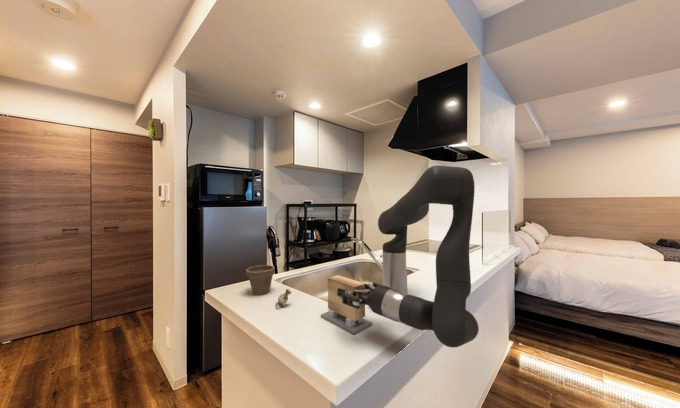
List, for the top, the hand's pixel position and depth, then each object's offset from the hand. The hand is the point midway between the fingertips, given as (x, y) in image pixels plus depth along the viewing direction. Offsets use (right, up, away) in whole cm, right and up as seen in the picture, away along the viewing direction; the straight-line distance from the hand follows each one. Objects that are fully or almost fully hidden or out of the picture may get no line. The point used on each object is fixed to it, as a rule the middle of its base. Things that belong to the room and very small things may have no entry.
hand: (348, 288), depth 78 cm
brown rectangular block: (-1, -8, +1) cm, 8 cm away
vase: (-23, -11, +13) cm, 29 cm away
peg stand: (-1, -11, +1) cm, 11 cm away
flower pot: (-36, -11, +27) cm, 46 cm away
